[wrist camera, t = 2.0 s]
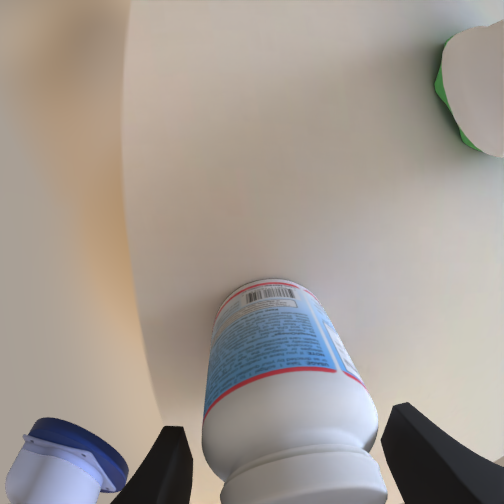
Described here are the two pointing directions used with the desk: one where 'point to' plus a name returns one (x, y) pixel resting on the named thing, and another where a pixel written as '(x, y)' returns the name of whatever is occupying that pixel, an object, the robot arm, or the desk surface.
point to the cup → (475, 86)
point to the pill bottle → (286, 404)
